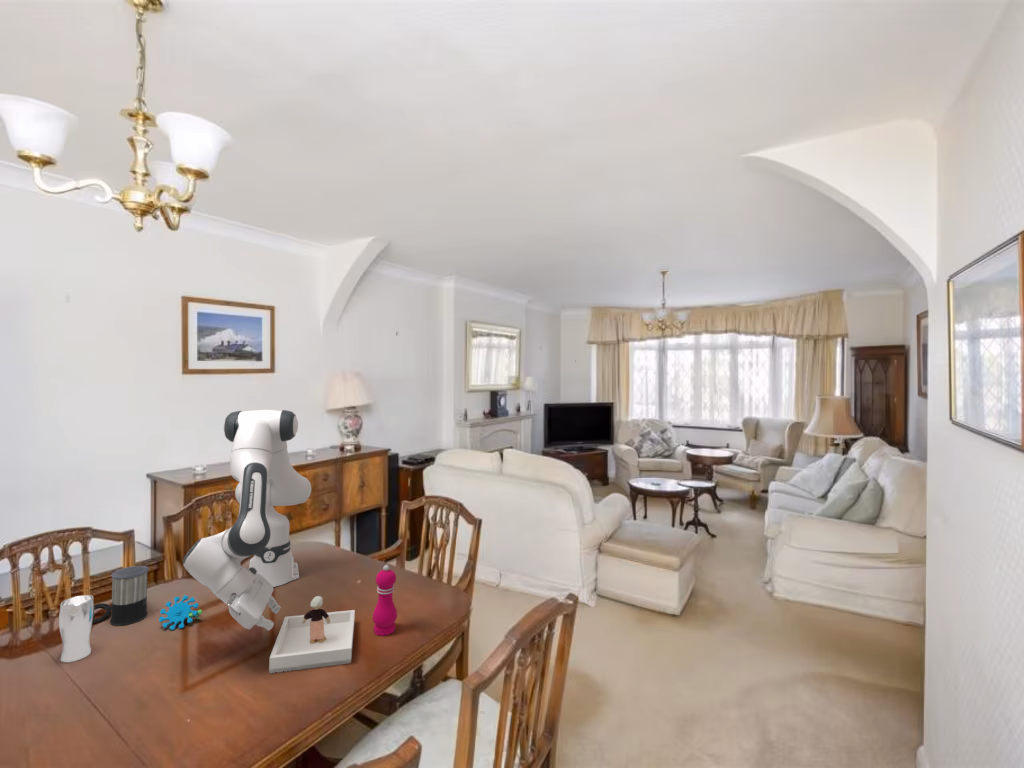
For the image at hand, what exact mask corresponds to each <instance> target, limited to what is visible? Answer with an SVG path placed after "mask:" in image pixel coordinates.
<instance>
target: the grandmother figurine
mask: <svg viewBox="0 0 1024 768" xmlns="http://www.w3.org/2000/svg"><path fill="white" fill-rule="evenodd" d="M323 599H324V598H323V597H322V596H320V595H316V596H314V597H313V598H312V600H311V601H310V604H309V606H310V607H311V608H312V609H310V610H309V611H307V612H306V613H305V614H304V615H305V616H304V618H303V621H302V623H303V624H304V623H305V622H306V620H307V619H310V618H311V621H310V644H313V643H316V641H317V639H319V640H318V643H323V642H324V641H325V640H326V637H325V636H324V621H323V617H324V618H325V619H326V621H327V623H328V624H329V623H330V622H331V621H330V620H329V615H328V614H327V613H328V612H327V611H326V610H325V609H323V608H322V606H323V602H324V601H323ZM322 616H323V617H322Z"/></svg>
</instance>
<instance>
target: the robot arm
mask: <svg viewBox="0 0 1024 768" xmlns="http://www.w3.org/2000/svg"><path fill="white" fill-rule="evenodd" d="M298 429H299V421H298V419H297V416H296V413H294V412H293V411H291V410H287V409H283V410H277V409H257V410H256V409H255V410H254V409H253V410H244V411H242V410H237V411H232V412H230V413H229V414H228V415H227V416H226V417H225V420H224V423H223V431H224V437H225V439H226V440H228V441H229V442H231V443H232V447H231V452H230V459H229V471H230V475H231V477H232V478H233V479H234V480H235V481H237V482H239V483H238V484H237V485H236V487H235V491H234V494H235V495H234V496H235V500H236V501H237V503H238V504H239V512H238V515H237V519H236V521H235V522H234V524H233V525H232V526H231V527H230V528H227V529H225V530H224V531H222V532H219V533H216V534H214V535H211V536H210V535H209V536H207V537H206V536H205V537H201V538H199V539H198V540H197V541H196V542H195V543H194V544H193V545H192V546H191V547H190V549H189V550H188V551H187V553H186V554H185V555H184V557H183V560H182V565H183V568H185V570H186V571H187V572H188V573H189V574H190V576H192V578H194V579H195V580H196V581H197V582H198V583H200V584H201V585H203V586H205V587H208V588H209V590H210V591H211V592H212V594H213V595H214V596H215V597H217V598H218V599H219V600H221V601H222V602H223V603H224V604H225V605H227V606H228V612H229V614H230V616H231V617H232V618H233V619H234V620H235V621H236V622H237V623H238V624H239V625H240V626H242V628H244V629H246V630H251V629H252V628H253V627H254V626H257V627H261V628H263V629H265V630H266V631H271V630H272V629H273V627H274V625H275V623H274V621H273V620H271V619H267V618H265V616H264V615H263V613H264V611H265V608H266V607H267V606H268V607H269V608H270V609H271V612H272V613H273V614H274V615H275V614H278V613H279V612H280V610H281V608H282V607H281V606H280V604H279V603H277V600H276V599H275V598H274V596H273V595H272V594H273V592H274V591H275V589H274V588H275V587H280V586H283V585H285V584H287V583H289V582H291V581H295V580H297V579H300V572H299V571H300V570H299V565H298V562H295V561H294V556H293V552H292V551H291V547H292V545H291V544H292V543H291V540H290V521H289V519H288V517H287V516H285V515H283V514H281V513H279V512H277V511H276V509H275V508H274V507H280V506H281V507H282V506H284V507H285V506H295V505H299V504H304V503H306V502H307V501H308V499H309V498H310V496H311V493H312V485H311V482H310V481H309V479H308V478H307V477H305V476H303V475H301V474H300V473H299V472H298V471H296V470H295V468H294V466H293V465H292V464H291V462H290V459H289V451H288V442H287V441H290V440H293V439H294V438H295V437H296V434H297V432H298ZM251 556H253V557H251ZM249 557H251V559H250V560H249V565H248V566H249V567H247V568H246V567H244V566H242V565H241V563H242V562H243V560H245V559H246V558H249Z"/></svg>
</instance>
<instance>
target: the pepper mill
mask: <svg viewBox="0 0 1024 768" xmlns="http://www.w3.org/2000/svg"><path fill="white" fill-rule="evenodd" d="M396 581H397V575H396V572H395V571H393V570H392V569H390V566H389V564H385V565H384V566H383V568H382V570H380V571H379V572H377V574H376V577H375V584H376V585H377V587H376V589H377V590H376V592H377V593H378V597H377V598H378V599H377V603H376V606H375V607H374V610H373V613H372V621H373V623H374V626H373V633H374V634H375V635H377V636H379V635H380V636H381V637H386V636H389V634H390V635H392V634H393V633H394V632H395V630H396V620H397V618H398V610H397V608H396V605H395V604H394V603H395V602H394V599H393V593H394V592H395V585H394V584H395V583H396ZM391 633H392V634H391ZM385 635H386V636H385Z"/></svg>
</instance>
